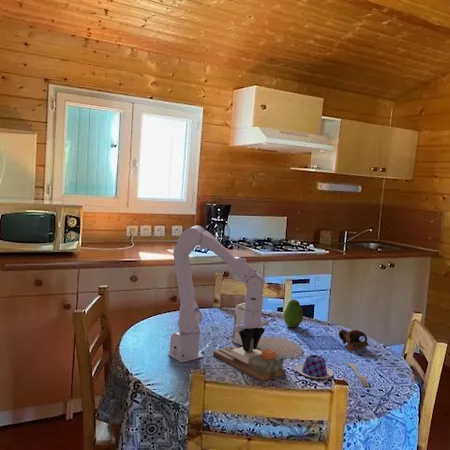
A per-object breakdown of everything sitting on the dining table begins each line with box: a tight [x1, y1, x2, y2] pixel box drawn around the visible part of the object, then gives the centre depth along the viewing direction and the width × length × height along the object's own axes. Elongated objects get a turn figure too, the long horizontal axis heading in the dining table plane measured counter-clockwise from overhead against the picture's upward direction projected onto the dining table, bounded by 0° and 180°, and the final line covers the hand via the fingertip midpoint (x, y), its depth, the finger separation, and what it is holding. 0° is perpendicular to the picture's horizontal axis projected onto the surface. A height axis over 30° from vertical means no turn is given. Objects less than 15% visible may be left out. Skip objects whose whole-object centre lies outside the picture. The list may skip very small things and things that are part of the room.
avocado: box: [283, 298, 304, 328], centre depth 206 cm, size 8×8×12 cm
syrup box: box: [231, 302, 245, 346], centre depth 182 cm, size 6×6×14 cm
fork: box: [346, 362, 370, 388], centre depth 162 cm, size 3×21×3 cm, turn 179°
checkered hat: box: [295, 354, 334, 380], centre depth 161 cm, size 12×12×5 cm
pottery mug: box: [338, 329, 369, 352], centre depth 187 cm, size 12×10×8 cm
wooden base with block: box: [212, 345, 286, 382], centre depth 162 cm, size 10×24×6 cm, turn 42°
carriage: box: [231, 337, 262, 364], centre depth 162 cm, size 8×8×7 cm
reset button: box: [261, 348, 276, 360], centre depth 156 cm, size 3×3×3 cm
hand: (249, 349), depth 162 cm, fingers closed on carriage, 3 cm apart
